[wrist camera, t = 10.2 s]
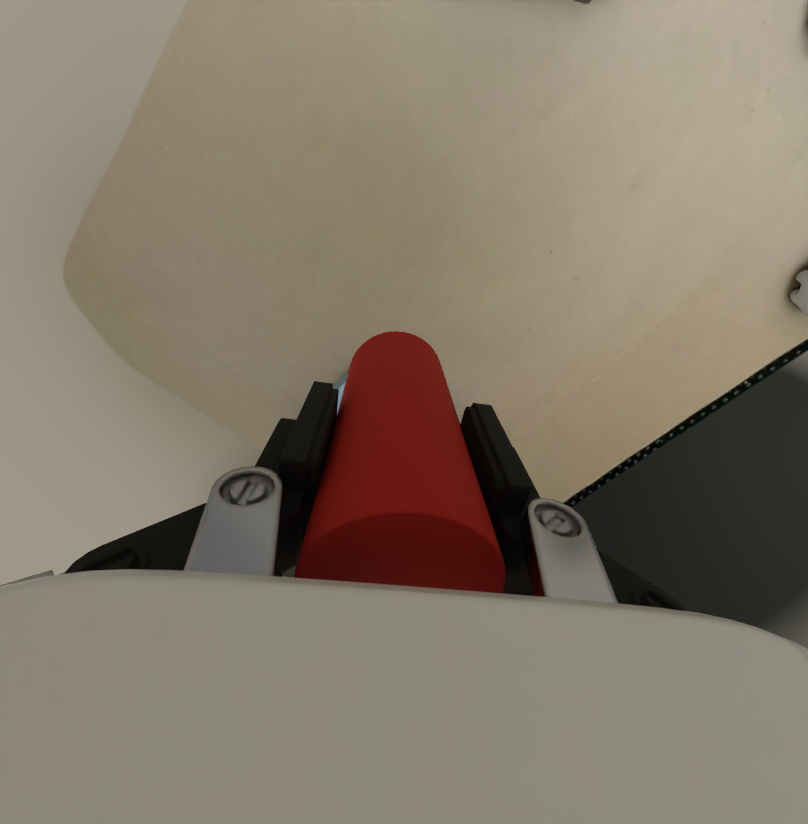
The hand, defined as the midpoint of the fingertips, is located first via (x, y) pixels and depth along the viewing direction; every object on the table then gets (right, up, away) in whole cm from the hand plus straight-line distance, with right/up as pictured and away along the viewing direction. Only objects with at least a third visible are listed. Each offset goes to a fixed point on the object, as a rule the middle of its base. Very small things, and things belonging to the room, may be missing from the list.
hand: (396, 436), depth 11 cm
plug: (0, +2, +4) cm, 5 cm away
